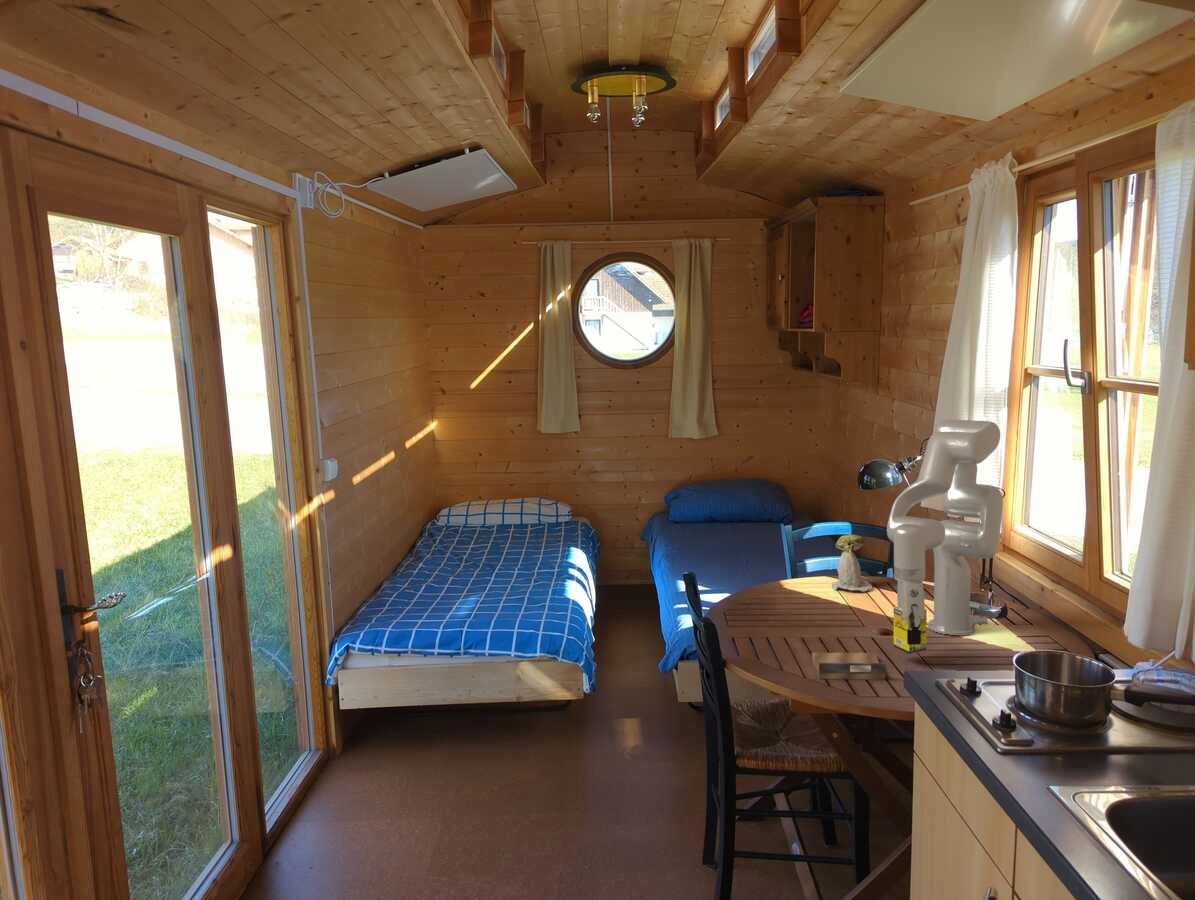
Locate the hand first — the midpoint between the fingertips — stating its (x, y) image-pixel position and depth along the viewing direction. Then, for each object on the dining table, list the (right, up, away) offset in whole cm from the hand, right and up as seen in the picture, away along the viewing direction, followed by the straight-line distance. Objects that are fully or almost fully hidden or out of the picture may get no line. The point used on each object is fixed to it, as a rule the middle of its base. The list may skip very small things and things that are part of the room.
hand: (909, 637), depth 225 cm
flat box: (-17, -8, -2) cm, 19 cm away
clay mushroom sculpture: (+4, +2, +65) cm, 66 cm away
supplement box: (0, -3, 0) cm, 3 cm away
